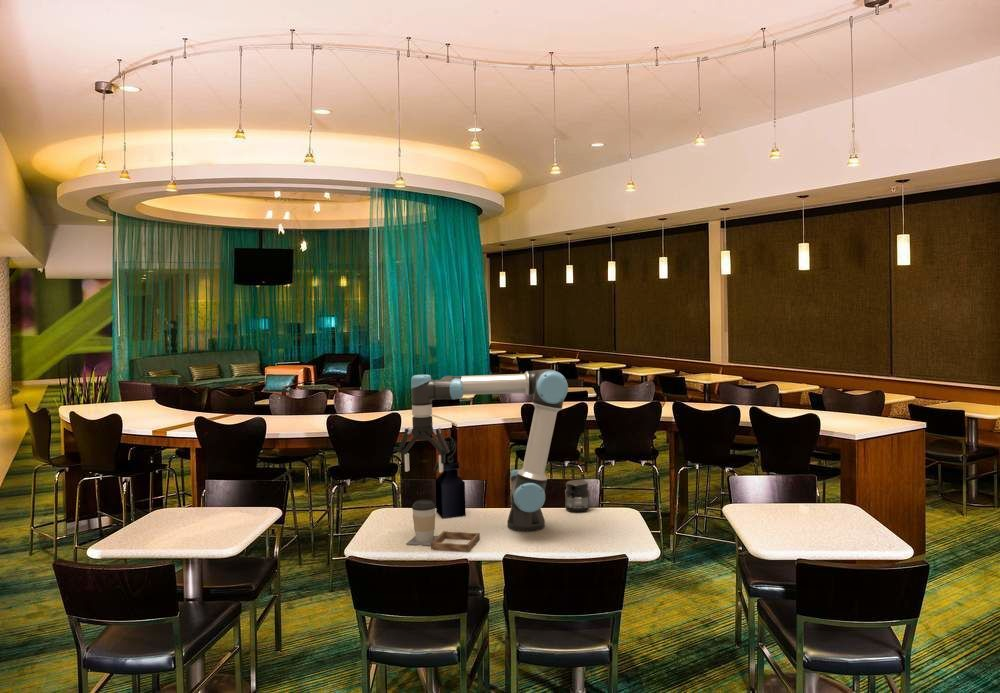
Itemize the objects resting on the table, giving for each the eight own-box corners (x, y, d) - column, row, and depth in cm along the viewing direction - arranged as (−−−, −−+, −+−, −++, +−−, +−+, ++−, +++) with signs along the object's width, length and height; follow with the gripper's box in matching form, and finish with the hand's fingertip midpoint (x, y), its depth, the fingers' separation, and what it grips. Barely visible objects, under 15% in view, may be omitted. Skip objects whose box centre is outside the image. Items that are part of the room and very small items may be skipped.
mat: (443, 537, 280) (443, 536, 280) (433, 546, 269) (433, 545, 269) (416, 535, 283) (416, 534, 283) (406, 544, 272) (406, 543, 272)
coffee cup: (424, 534, 282) (423, 496, 282) (441, 538, 277) (440, 500, 276) (407, 540, 275) (406, 501, 275) (424, 545, 270) (423, 505, 269)
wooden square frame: (479, 539, 276) (479, 533, 276) (469, 552, 262) (468, 545, 262) (443, 537, 280) (443, 531, 280) (431, 549, 266) (430, 543, 266)
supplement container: (578, 505, 321) (578, 478, 321) (594, 510, 312) (594, 483, 312) (560, 509, 315) (559, 482, 315) (576, 514, 306) (575, 486, 306)
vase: (431, 511, 318) (429, 431, 316) (457, 508, 322) (455, 429, 320) (439, 519, 304) (437, 436, 303) (466, 516, 308) (463, 434, 306)
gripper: (456, 414, 275) (458, 469, 276) (395, 414, 281) (397, 468, 282) (450, 417, 267) (452, 474, 268) (387, 417, 273) (389, 472, 274)
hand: (424, 471), depth 275 cm, fingers open, 13 cm apart
